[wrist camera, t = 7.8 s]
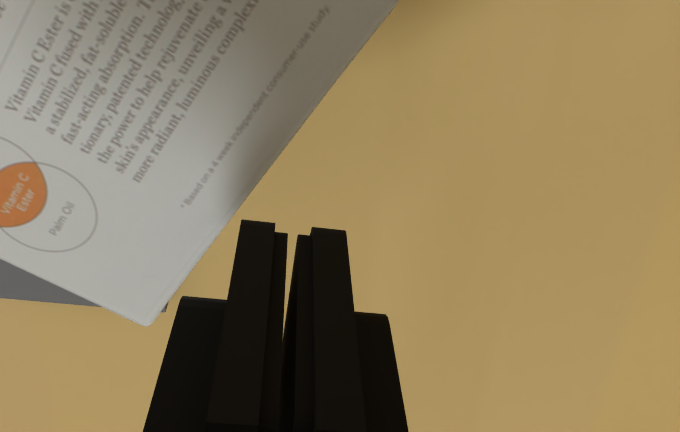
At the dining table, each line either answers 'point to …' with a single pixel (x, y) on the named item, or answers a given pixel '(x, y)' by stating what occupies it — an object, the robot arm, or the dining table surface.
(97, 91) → the small box
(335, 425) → the robot arm
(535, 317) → the dining table surface
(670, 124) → the dining table surface
